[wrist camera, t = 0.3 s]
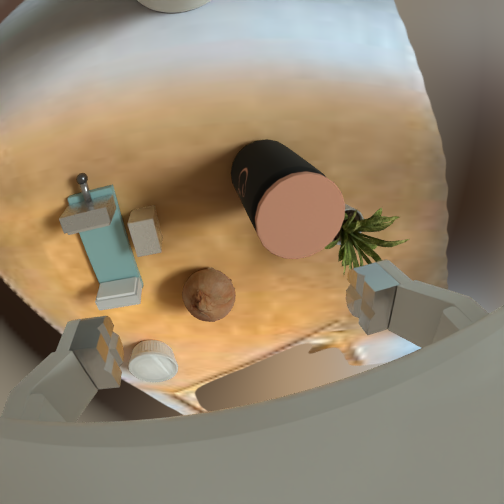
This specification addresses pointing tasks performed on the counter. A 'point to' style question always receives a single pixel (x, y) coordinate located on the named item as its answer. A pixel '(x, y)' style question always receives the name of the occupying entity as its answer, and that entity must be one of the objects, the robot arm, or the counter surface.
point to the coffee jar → (287, 199)
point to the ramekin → (153, 361)
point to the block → (145, 231)
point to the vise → (111, 258)
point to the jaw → (87, 211)
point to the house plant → (361, 237)
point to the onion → (209, 295)
